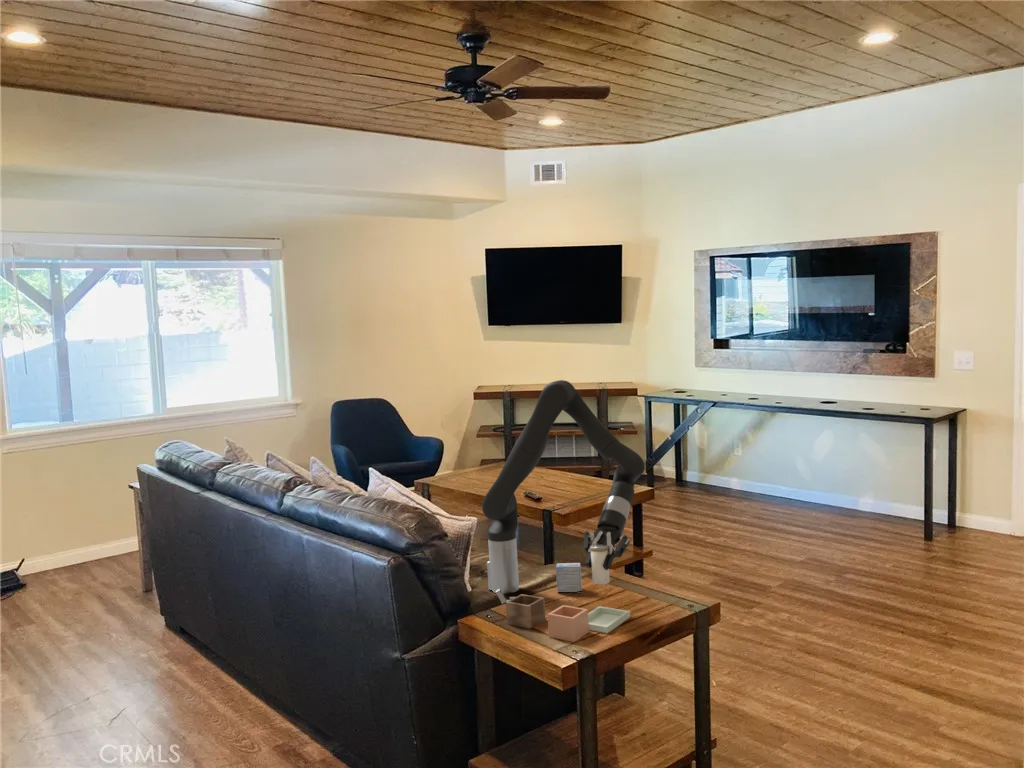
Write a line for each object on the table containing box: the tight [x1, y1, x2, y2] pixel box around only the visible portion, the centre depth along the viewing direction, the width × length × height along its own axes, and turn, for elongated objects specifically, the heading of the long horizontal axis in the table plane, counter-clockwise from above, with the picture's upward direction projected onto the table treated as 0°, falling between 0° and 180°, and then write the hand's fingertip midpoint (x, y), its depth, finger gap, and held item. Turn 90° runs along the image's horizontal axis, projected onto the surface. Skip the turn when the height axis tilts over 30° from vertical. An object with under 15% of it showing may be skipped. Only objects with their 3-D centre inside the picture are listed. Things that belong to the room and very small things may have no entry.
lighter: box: [495, 588, 516, 605], centre depth 227 cm, size 7×2×8 cm, turn 88°
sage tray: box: [588, 605, 631, 634], centre depth 215 cm, size 10×14×2 cm
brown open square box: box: [505, 593, 546, 629], centre depth 219 cm, size 8×8×7 cm
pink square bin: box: [547, 604, 590, 643], centre depth 207 cm, size 8×8×7 cm
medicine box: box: [555, 562, 583, 593], centre depth 247 cm, size 8×4×9 cm, turn 84°
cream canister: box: [590, 544, 610, 585], centre depth 214 cm, size 5×5×10 cm
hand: (596, 567), depth 213 cm, fingers closed on cream canister, 4 cm apart
